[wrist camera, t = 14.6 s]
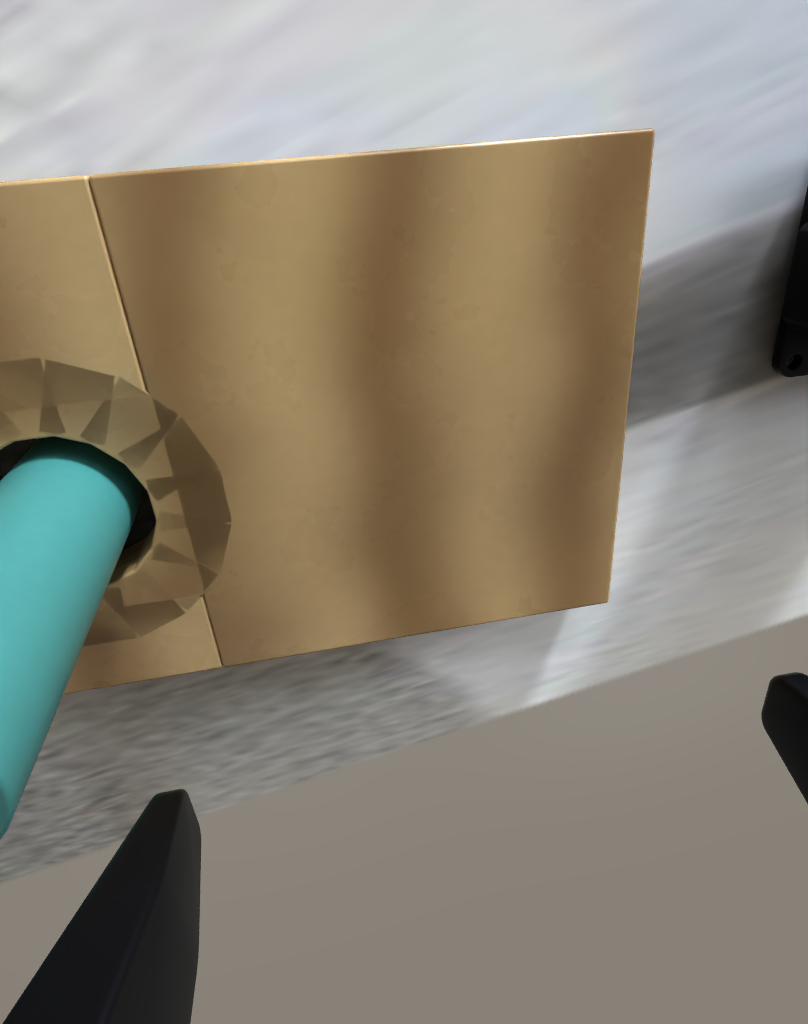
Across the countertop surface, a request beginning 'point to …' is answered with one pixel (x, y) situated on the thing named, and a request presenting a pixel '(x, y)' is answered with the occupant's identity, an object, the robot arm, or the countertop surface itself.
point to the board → (335, 386)
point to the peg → (52, 585)
